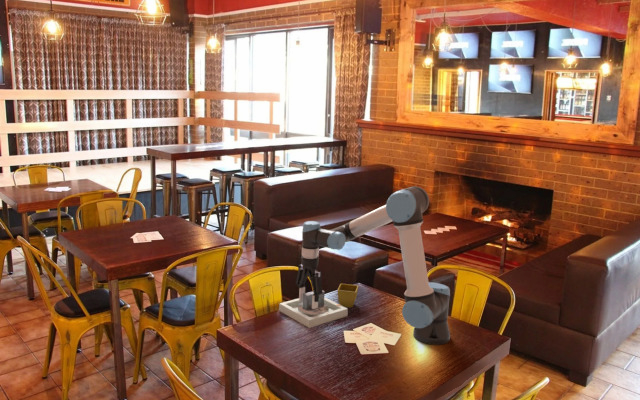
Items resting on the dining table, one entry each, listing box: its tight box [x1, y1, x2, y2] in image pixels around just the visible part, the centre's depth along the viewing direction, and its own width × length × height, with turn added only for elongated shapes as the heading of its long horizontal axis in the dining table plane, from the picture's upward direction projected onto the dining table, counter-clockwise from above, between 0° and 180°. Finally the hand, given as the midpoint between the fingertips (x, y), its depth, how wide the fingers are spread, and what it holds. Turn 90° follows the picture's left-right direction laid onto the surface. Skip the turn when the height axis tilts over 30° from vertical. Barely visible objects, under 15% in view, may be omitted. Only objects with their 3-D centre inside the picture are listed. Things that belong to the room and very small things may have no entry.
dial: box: [298, 289, 329, 317], centre depth 256 cm, size 14×14×8 cm
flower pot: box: [337, 283, 359, 309], centre depth 267 cm, size 9×9×9 cm
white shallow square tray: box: [278, 296, 349, 329], centre depth 257 cm, size 22×22×4 cm
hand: (308, 304), depth 254 cm, fingers open, 9 cm apart
